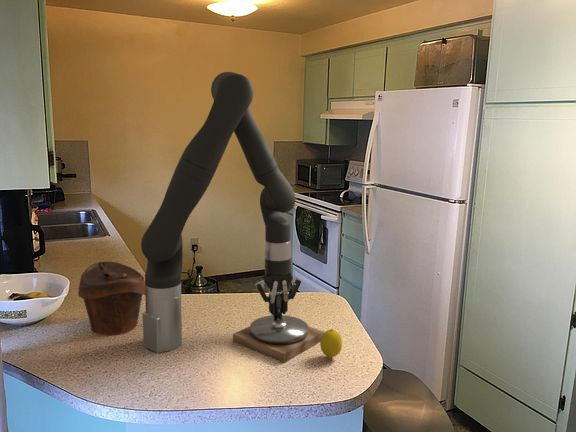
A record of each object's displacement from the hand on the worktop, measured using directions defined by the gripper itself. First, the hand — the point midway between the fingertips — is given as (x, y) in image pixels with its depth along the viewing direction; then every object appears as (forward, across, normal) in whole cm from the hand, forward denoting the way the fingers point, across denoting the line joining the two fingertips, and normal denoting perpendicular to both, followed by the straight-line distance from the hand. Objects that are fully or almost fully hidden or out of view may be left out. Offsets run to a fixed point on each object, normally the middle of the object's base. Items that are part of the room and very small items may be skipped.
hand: (278, 313), depth 140 cm
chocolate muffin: (+4, -45, +14) cm, 48 cm away
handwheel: (+3, -2, -6) cm, 7 cm away
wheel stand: (+5, -2, -6) cm, 8 cm away
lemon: (+6, +9, -19) cm, 22 cm away
